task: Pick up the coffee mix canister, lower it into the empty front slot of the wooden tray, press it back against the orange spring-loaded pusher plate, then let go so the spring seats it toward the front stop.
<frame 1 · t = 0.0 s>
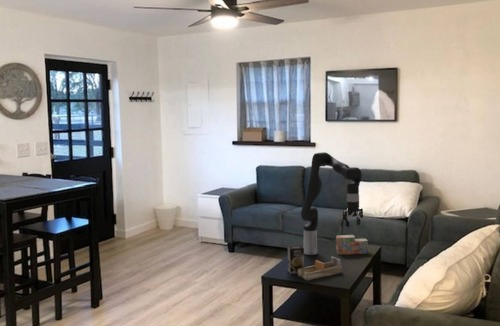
hand: (353, 225, 291), 29 cm above the table, tool pointing down, fingers open, 8 cm apart
wooden tray: (319, 274, 291), on the table
pusher: (319, 267, 291), point 5 cm above the table, slide at 0.0 cm
stack of blocks: (351, 253, 332), on the table
coffee box: (296, 272, 297), on the table
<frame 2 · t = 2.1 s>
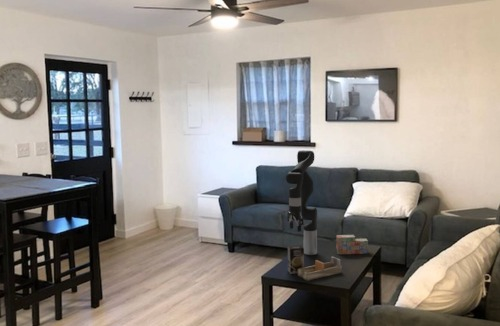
hand: (295, 229, 293), 27 cm above the table, tool pointing down, fingers open, 8 cm apart
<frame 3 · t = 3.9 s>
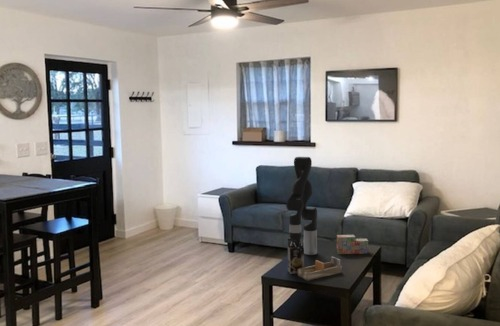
hand: (295, 256, 295), 10 cm above the table, tool pointing down, fingers closed on coffee box, 7 cm apart
coffee box: (296, 272, 297), on the table, touching gripper
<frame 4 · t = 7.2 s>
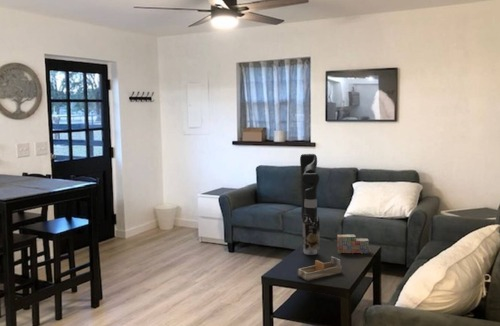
hand: (311, 232, 285), 27 cm above the table, tool pointing down, fingers closed on coffee box, 7 cm apart
coffee box: (311, 248, 286), point 17 cm above the table, touching gripper
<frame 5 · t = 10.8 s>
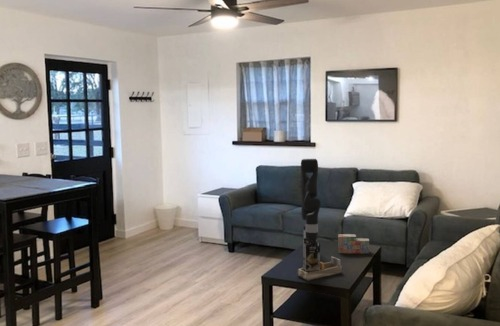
hand: (311, 257, 287), 12 cm above the table, tool pointing down, fingers closed on coffee box, 7 cm apart
coffee box: (311, 269, 288), point 4 cm above the table, touching gripper, wooden tray
when the fingers open (12 cm above the table, at t = 12.0 s): coffee box stays where it is, resting on wooden tray, pusher.
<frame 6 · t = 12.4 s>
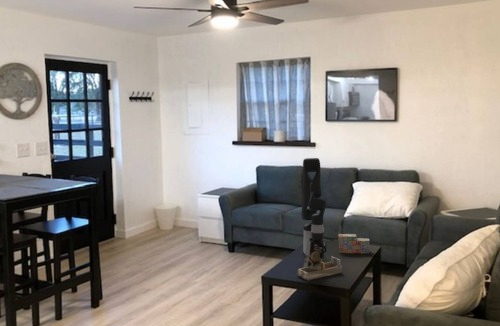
hand: (317, 256, 289), 11 cm above the table, tool pointing down, fingers open, 8 cm apart
pusher: (320, 267, 291), point 5 cm above the table, slide at 0.6 cm, touching coffee box
coffee box: (312, 268, 287), point 5 cm above the table, touching gripper, wooden tray, pusher
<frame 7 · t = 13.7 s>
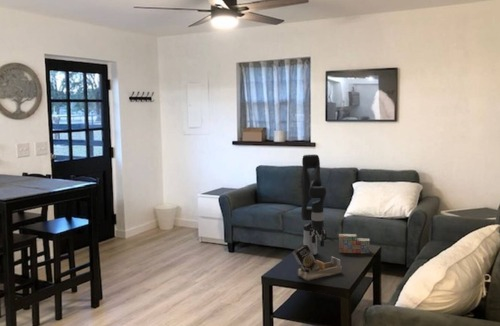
hand: (317, 244, 288), 19 cm above the table, tool pointing down, fingers open, 8 cm apart
pusher: (320, 267, 291), point 5 cm above the table, slide at 0.4 cm
coffee box: (312, 271, 287), point 3 cm above the table, touching wooden tray
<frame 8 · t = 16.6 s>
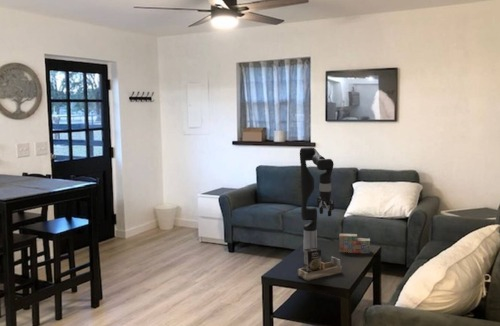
hand: (325, 214, 301), 34 cm above the table, tool pointing down, fingers open, 8 cm apart
coffee box: (312, 275, 288), point 1 cm above the table, touching wooden tray
at the end: coffee box 1.4 cm from the target spot on the wooden tray, point 0.6 cm above the wooden tray's base; coffee box tilted 0°; the gripper is holding nothing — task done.
